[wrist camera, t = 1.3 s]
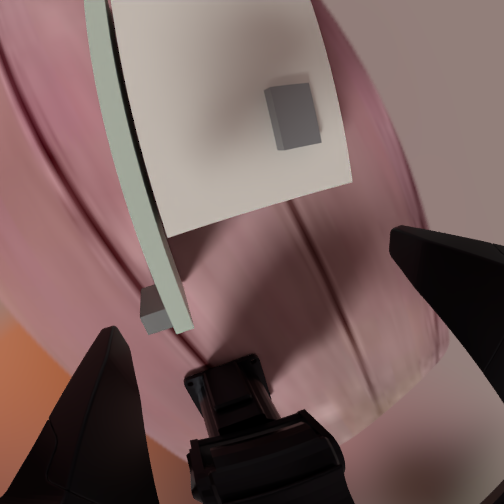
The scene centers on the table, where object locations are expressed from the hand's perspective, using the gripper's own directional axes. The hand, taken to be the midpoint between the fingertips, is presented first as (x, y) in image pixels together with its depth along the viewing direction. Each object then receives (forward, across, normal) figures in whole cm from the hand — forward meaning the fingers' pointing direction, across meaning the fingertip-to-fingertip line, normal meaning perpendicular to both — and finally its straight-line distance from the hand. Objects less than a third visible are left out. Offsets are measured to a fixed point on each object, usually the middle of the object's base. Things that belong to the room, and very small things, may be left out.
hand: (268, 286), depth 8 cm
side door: (+12, +4, -3) cm, 13 cm away
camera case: (+13, -2, -6) cm, 14 cm away
